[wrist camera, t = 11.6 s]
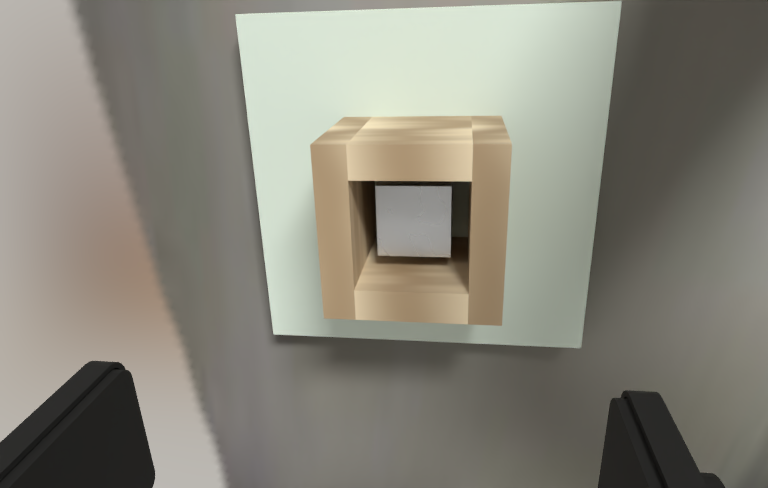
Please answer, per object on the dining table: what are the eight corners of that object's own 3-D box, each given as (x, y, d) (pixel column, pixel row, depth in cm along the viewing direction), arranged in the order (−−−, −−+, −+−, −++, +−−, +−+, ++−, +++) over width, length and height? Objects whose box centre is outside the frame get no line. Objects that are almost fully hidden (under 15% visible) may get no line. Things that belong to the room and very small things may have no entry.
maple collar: (501, 115, 24) (511, 144, 19) (494, 262, 27) (502, 325, 21) (343, 116, 25) (309, 144, 20) (351, 259, 28) (323, 318, 22)
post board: (612, 1, 23) (653, -3, 18) (575, 332, 29) (598, 398, 24) (247, 14, 26) (194, 13, 21) (281, 320, 32) (246, 378, 27)
